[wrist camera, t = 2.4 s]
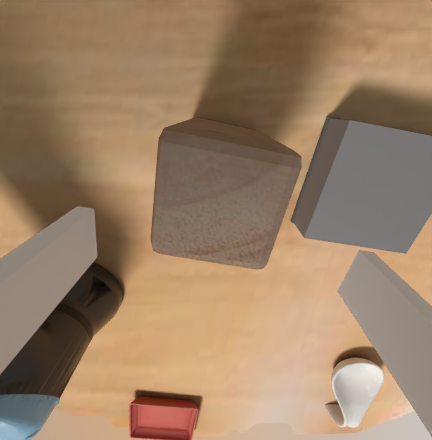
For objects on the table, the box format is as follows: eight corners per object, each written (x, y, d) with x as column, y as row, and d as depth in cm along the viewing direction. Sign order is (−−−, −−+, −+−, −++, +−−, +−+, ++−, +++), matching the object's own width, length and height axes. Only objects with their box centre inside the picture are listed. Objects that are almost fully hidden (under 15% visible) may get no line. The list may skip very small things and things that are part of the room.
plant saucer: (199, 396, 63) (199, 410, 60) (192, 429, 70) (191, 443, 67) (133, 389, 62) (128, 404, 59) (133, 423, 69) (129, 438, 66)
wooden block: (190, 115, 32) (156, 123, 14) (260, 130, 33) (312, 155, 15) (181, 183, 36) (146, 256, 18) (243, 195, 37) (267, 276, 19)
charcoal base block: (290, 220, 39) (302, 238, 33) (326, 116, 32) (349, 117, 26) (381, 235, 40) (406, 254, 35) (435, 137, 33) (478, 142, 28)
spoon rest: (330, 348, 54) (346, 381, 47) (381, 349, 53) (403, 381, 47) (312, 404, 64) (322, 437, 57) (354, 404, 64) (370, 438, 57)
